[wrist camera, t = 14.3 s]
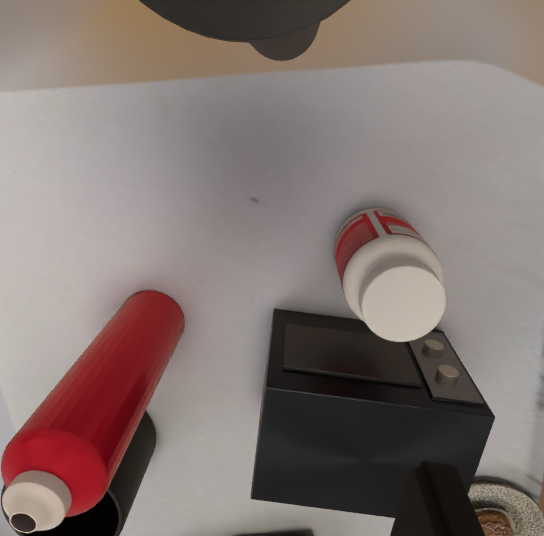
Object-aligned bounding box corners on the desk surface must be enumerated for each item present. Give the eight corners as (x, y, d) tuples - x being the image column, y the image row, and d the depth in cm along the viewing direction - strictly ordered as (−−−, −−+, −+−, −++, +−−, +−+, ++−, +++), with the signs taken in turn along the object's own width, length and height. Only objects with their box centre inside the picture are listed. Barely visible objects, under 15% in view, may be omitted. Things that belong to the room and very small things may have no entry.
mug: (156, 369, 41) (119, 440, 33) (157, 475, 46) (125, 563, 37) (50, 359, 42) (-13, 427, 33) (61, 466, 46) (7, 551, 37)
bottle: (179, 354, 41) (79, 576, 22) (117, 341, 41) (-37, 553, 22) (189, 298, 39) (88, 489, 20) (124, 284, 39) (-39, 463, 20)
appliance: (275, 300, 39) (266, 376, 28) (445, 322, 38) (499, 406, 28) (261, 399, 42) (250, 499, 32) (418, 420, 42) (457, 526, 32)
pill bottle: (339, 287, 38) (355, 361, 28) (327, 214, 36) (339, 264, 25) (418, 274, 37) (464, 345, 27) (410, 199, 35) (457, 243, 25)
